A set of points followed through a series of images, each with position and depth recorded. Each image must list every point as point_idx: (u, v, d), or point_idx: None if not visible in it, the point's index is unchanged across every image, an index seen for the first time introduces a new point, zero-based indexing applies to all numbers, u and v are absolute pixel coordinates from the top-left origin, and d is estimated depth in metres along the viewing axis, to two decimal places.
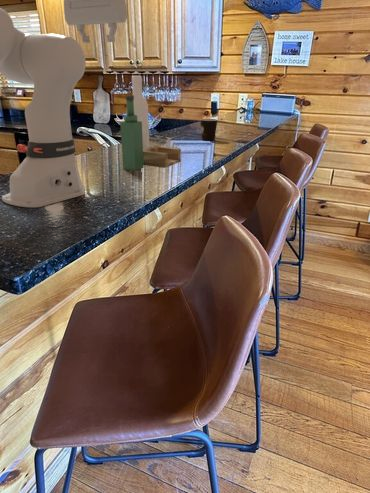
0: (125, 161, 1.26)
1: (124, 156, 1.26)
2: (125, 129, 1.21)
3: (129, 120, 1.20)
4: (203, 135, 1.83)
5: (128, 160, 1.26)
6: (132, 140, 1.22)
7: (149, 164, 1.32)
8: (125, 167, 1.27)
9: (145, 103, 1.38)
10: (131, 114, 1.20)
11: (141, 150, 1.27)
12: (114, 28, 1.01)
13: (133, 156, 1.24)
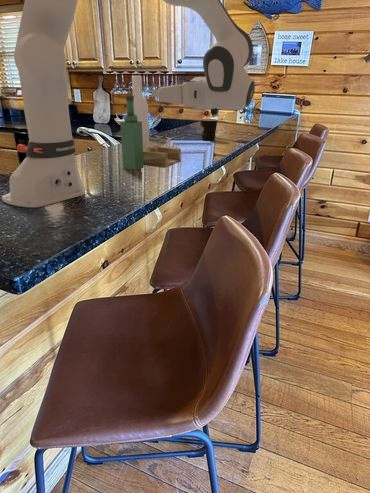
0: (125, 161, 1.26)
1: (124, 156, 1.26)
2: (125, 129, 1.21)
3: (129, 120, 1.20)
4: (203, 135, 1.83)
5: (128, 160, 1.26)
6: (132, 140, 1.22)
7: (149, 164, 1.32)
8: (125, 167, 1.27)
9: (145, 103, 1.38)
10: (131, 114, 1.20)
11: (141, 150, 1.27)
12: None
13: (133, 156, 1.24)
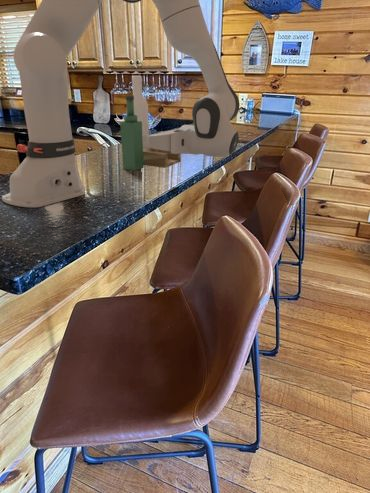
0: (125, 161, 1.26)
1: (124, 156, 1.26)
2: (125, 129, 1.21)
3: (129, 120, 1.20)
4: None
5: (128, 160, 1.26)
6: (132, 140, 1.22)
7: (149, 164, 1.32)
8: (125, 167, 1.27)
9: (145, 103, 1.38)
10: (131, 114, 1.20)
11: (141, 150, 1.27)
12: None
13: (133, 156, 1.24)
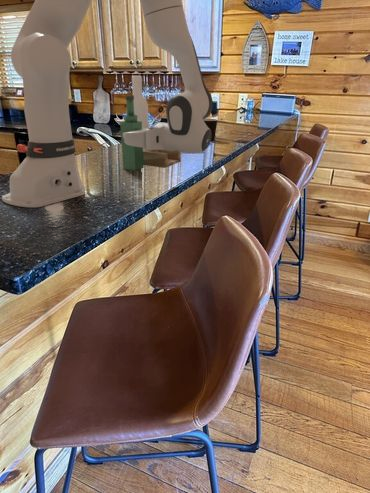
0: (125, 161, 1.26)
1: (124, 156, 1.26)
2: (125, 129, 1.21)
3: (129, 120, 1.20)
4: None
5: (128, 160, 1.26)
6: None
7: (149, 164, 1.32)
8: (125, 167, 1.27)
9: (145, 103, 1.38)
10: (131, 114, 1.20)
11: (141, 150, 1.27)
12: None
13: (133, 156, 1.24)
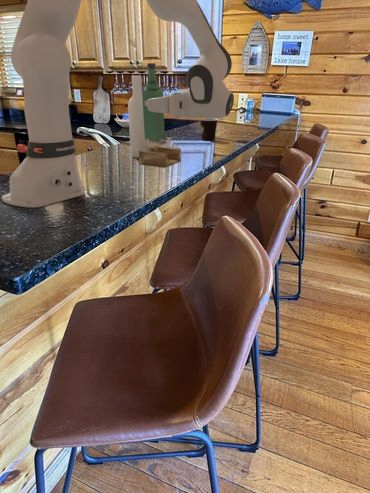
0: (147, 131, 1.28)
1: (146, 125, 1.27)
2: (147, 98, 1.22)
3: (150, 88, 1.21)
4: (203, 135, 1.83)
5: (150, 130, 1.27)
6: None
7: (149, 164, 1.32)
8: (147, 137, 1.29)
9: None
10: (153, 82, 1.21)
11: (162, 119, 1.28)
12: None
13: (155, 125, 1.25)
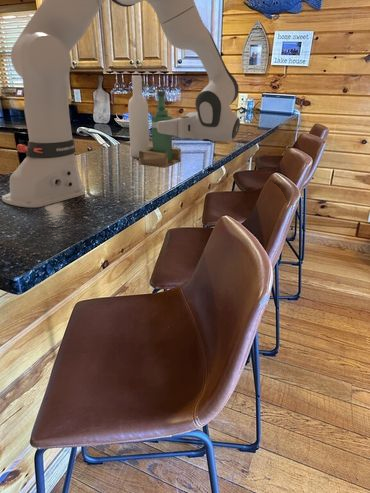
0: None
1: (154, 149, 1.33)
2: None
3: (160, 115, 1.27)
4: None
5: None
6: None
7: (149, 164, 1.32)
8: None
9: (145, 103, 1.38)
10: (162, 109, 1.27)
11: (170, 143, 1.34)
12: None
13: (164, 149, 1.31)
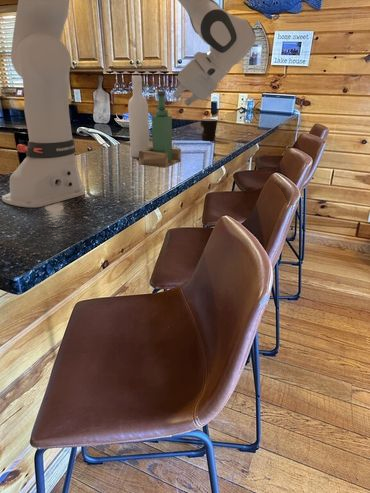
0: None
1: (154, 149, 1.33)
2: (157, 123, 1.28)
3: (160, 115, 1.27)
4: (203, 135, 1.83)
5: None
6: (163, 133, 1.29)
7: (149, 164, 1.32)
8: None
9: (145, 103, 1.38)
10: (162, 109, 1.27)
11: (170, 143, 1.34)
12: (180, 87, 1.12)
13: (164, 149, 1.31)
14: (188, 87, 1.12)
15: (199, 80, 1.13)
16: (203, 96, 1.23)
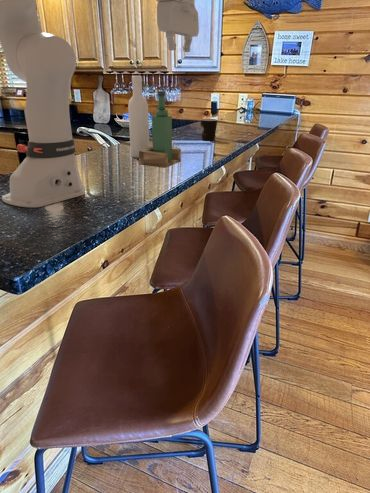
0: None
1: (154, 149, 1.33)
2: (157, 123, 1.28)
3: (160, 115, 1.27)
4: (203, 135, 1.83)
5: None
6: (163, 133, 1.29)
7: (149, 164, 1.32)
8: None
9: (145, 103, 1.38)
10: (162, 109, 1.27)
11: (170, 143, 1.34)
12: (169, 37, 1.06)
13: (164, 149, 1.31)
14: (174, 28, 1.04)
15: (178, 15, 1.05)
16: (194, 30, 1.14)
